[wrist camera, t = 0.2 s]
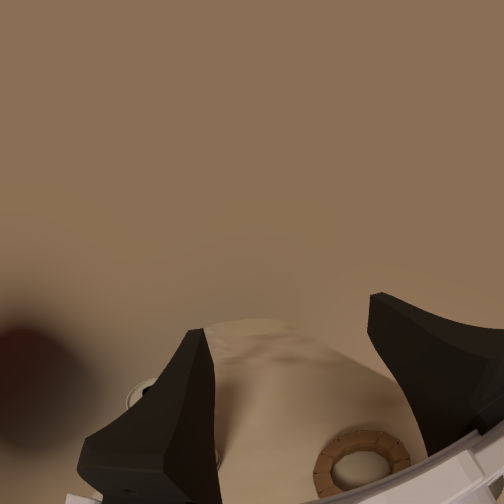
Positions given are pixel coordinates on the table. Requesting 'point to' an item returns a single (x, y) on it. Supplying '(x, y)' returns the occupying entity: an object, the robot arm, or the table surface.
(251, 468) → the table surface
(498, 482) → the dark metal peg
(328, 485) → the walnut ring
